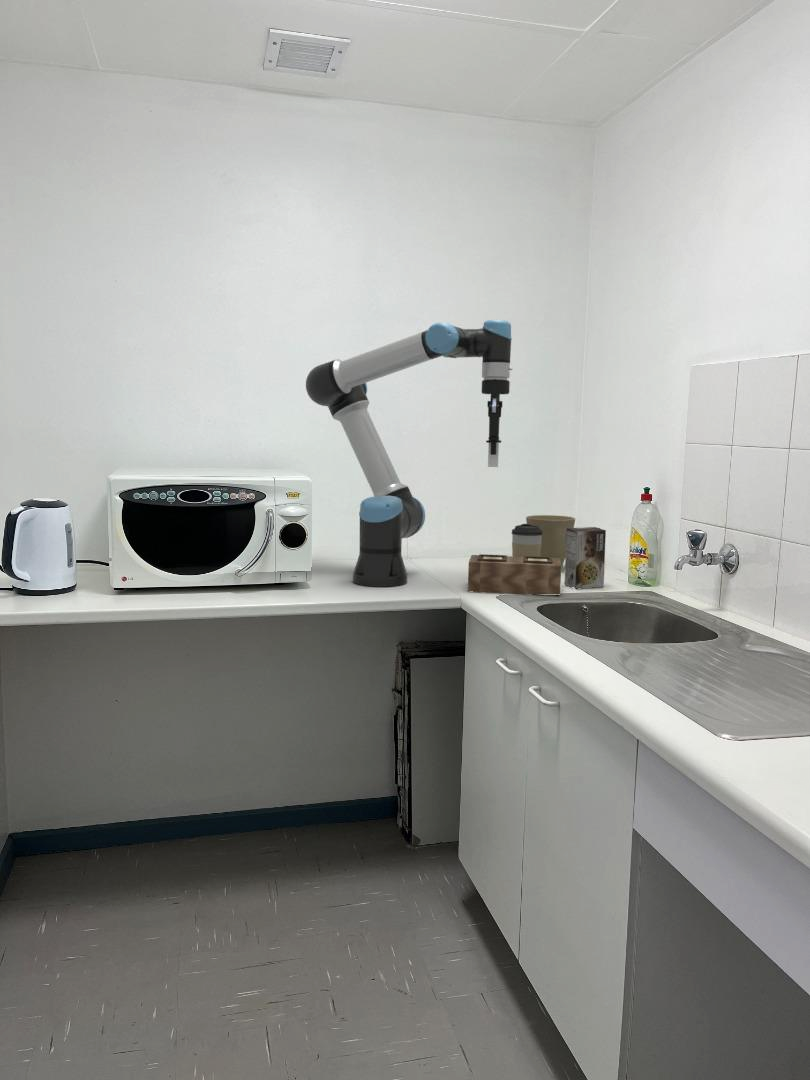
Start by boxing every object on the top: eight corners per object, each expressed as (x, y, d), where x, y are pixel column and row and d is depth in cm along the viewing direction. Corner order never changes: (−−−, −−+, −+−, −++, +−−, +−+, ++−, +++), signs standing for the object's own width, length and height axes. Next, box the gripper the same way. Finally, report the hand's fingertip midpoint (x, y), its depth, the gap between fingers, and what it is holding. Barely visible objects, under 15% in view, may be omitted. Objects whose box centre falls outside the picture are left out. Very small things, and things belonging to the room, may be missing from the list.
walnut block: (467, 591, 218) (468, 559, 217) (470, 583, 230) (471, 552, 229) (559, 596, 215) (561, 563, 213) (558, 587, 226) (559, 556, 225)
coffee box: (592, 583, 233) (594, 526, 230) (604, 587, 227) (607, 529, 224) (563, 584, 230) (565, 527, 228) (574, 589, 224) (577, 530, 222)
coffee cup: (543, 578, 238) (545, 527, 236) (511, 578, 238) (513, 526, 236) (538, 573, 247) (540, 523, 245) (508, 572, 247) (510, 522, 245)
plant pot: (578, 567, 259) (580, 516, 256) (566, 574, 245) (568, 521, 243) (532, 562, 265) (533, 513, 263) (517, 570, 252) (519, 518, 249)
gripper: (509, 378, 216) (506, 468, 219) (510, 380, 229) (507, 465, 232) (480, 377, 217) (477, 467, 221) (483, 380, 230) (480, 465, 233)
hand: (492, 466), depth 226 cm, fingers closed
